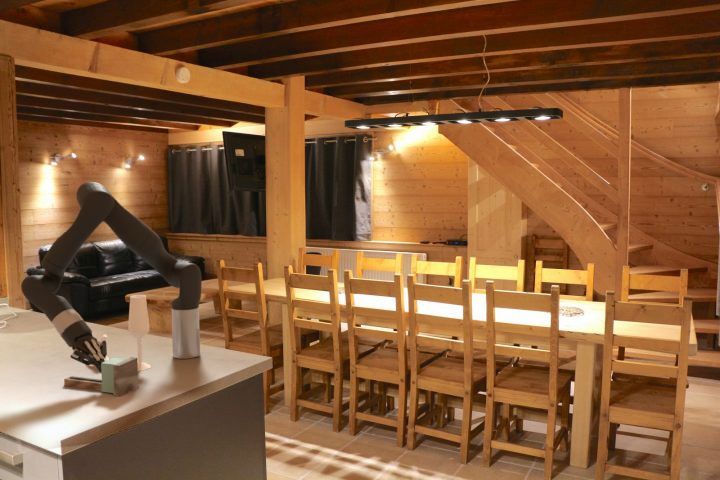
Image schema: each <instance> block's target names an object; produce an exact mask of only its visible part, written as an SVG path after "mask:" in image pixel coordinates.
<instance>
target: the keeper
mask: <svg viewBox="0 0 720 480" xmlns="http://www.w3.org/2000/svg"><path fill="white" fill-rule="evenodd" d="M126 359H127V358H125V357H112V358H111V359H109V360H108V361H105V362H103V363H101V373H100V374H101V380H102V390H101V392H103V393H108V394H110V393H111V394H114V376H113V365H114V364H117V363H119V362H121V361H124V360H126Z"/></svg>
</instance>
